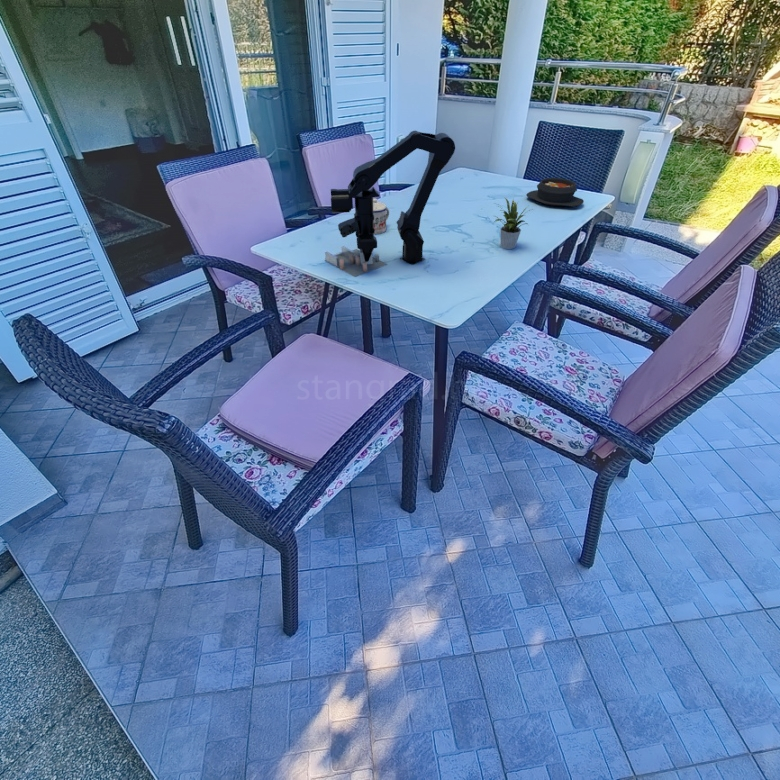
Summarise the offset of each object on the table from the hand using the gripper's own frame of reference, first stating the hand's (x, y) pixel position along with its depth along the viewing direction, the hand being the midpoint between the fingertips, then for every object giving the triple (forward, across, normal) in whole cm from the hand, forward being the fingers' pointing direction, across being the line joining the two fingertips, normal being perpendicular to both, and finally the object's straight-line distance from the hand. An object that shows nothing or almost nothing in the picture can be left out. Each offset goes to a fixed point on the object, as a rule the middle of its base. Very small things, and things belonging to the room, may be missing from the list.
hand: (366, 258), depth 150 cm
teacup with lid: (+2, -30, +7) cm, 31 cm away
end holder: (+2, -2, -9) cm, 9 cm away
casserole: (+2, -53, +88) cm, 102 cm away
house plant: (+2, -9, +51) cm, 52 cm away
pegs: (+1, +3, -2) cm, 4 cm away
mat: (+2, 0, -4) cm, 4 cm away
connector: (+1, 0, 0) cm, 1 cm away
